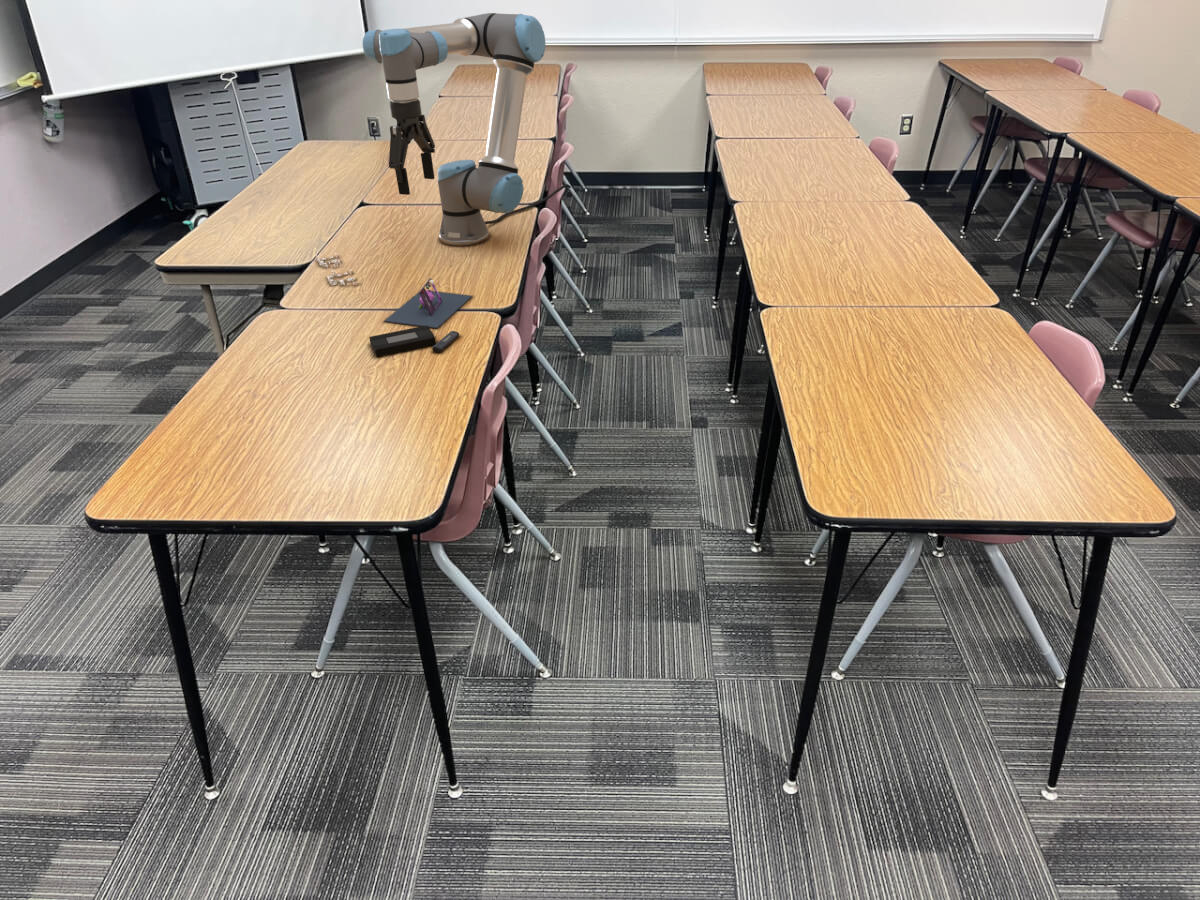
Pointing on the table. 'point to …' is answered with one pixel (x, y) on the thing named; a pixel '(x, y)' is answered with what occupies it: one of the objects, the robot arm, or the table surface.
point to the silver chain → (334, 271)
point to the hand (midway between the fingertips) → (417, 186)
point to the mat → (421, 317)
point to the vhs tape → (402, 340)
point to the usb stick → (445, 341)
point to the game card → (429, 297)
